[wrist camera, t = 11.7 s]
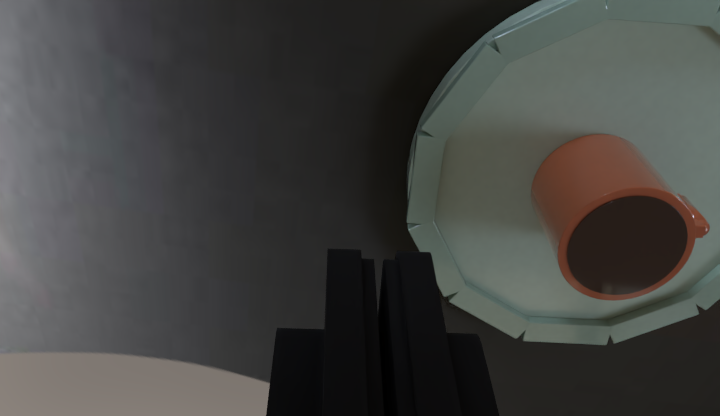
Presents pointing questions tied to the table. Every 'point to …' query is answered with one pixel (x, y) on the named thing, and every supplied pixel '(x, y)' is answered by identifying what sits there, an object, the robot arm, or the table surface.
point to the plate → (547, 133)
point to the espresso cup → (613, 218)
